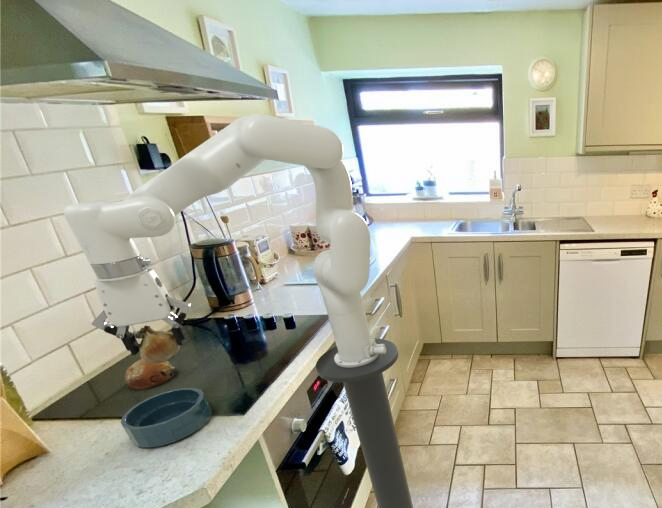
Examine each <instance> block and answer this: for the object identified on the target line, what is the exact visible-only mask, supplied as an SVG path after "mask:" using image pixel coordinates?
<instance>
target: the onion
mask: <svg viewBox="0 0 662 508" xmlns="http://www.w3.org/2000/svg"><path fill="white" fill-rule="evenodd" d="M132 333H133V334H134V336H135V338H136V340H138V339H139V340H141V341H140V343H138V348H139V352H138V354H139V357H140V359H143V360H144V361H146V362H149V363H153V364H155V363H163V362H166V361H168V362H170V361H172V360H173V359H174V358H175V357H176V356H177V354H178V353H179V351H180V348H181V345H178V343H177V341H176V339H175V337H174V335H173V333H172V331H165V330H155V329H153V328H151V326H150V325H144V326H143V327H141V328H140V329H139V330H137V331H136V330H133V331H132Z"/></svg>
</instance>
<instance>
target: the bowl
mask: <svg viewBox="0 0 662 508" xmlns="http://www.w3.org/2000/svg"><path fill="white" fill-rule="evenodd" d="M212 413H213V410H212V408H211V405H210V403H209V401H208V399H207V397H206V395H205V393H204V391H202V389H199V388H196V387H181V388H175V389H171V390H167V391H163V392H161V393H158V394H156V395H152V396H150V397H148V398H146V399H144V400H142V401H140V402H138V403H137V404H135V405H133V406H132V407H131V408H129V410H127V411H126V412H125V413H124V414H123V415H122V417H121V420H120V424H121V426H122V428H123V429H124V431H125V433H126V434H127V436H128V438H129V439H130V441H131V443H132V444H133V445H134V446H136V447H139V448H154V447H155V448H156V447H162V446H165V445H169V444H171V443H175V442H178V441H179V440H181V439H184V438H186V437H188V436H190V435H192V434H193V433H195V432H196V431H198V430H199V429H201V428H202V427H203V426H205V424H206V423H208V421H209V420H210V418H211V417H212Z"/></svg>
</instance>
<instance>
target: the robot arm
mask: <svg viewBox="0 0 662 508" xmlns="http://www.w3.org/2000/svg"><path fill="white" fill-rule="evenodd" d="M343 157H344V146H343V143H342V140H341V139H340V137H339V136H338V135H337V134H336V133H335V132H334V131H332V130H331V129H330V128H328V127H325V126H321V125H315V124H312V123H311V124H310V123H306V122H301V121H297V120H293V119H287V118H284V117H278V116H274V115H270V114H266V113H252V114H245V115H243V116H240V117H238V118H237V119H235V120H234V121H232V122H231V123H230V124H228V125H226V126H224V128H222V129H221V130H220V131H218V132H217V133H215V134H214V135H212V136H211V137H209V138H208V139H207V140H205V141H204V142H202V143H201V144H199V145H198V146H197V147H195V148H193V149H192V150H191V151H189V152H188V153H187V154H185V155H184V156H182V157H181V158H179V159H178V160H177V161H176V162H175V163H173V164H171V165H170V166H169V167H168V168H165V169H164V170H163V171H161V172H159V173H158V174H157V175H155V176H154V177H152V178H151V179H149V180H148V181H146V182H145V183H143V184H142V185H140V186H139V187H138V188H137V189H134V190H133V191H132V192H131V193H129V194H128V195H127V196H126V197H125V198H124V199H123V200H120V201H114V202H112V201H110V200H92V201H83V202H77V203H72V204H69V205H66V206H65V207H64V209H63V215H64V217H65V220H66V221H67V223H68V225H69V227H70V229H71V231H72V234H73V235H74V237H75V238H76V240H77V242H78V244H79V246H80V247H81V250H82V251H83V253H84V255H85V258H86V259H87V261H88V263H89V265H90V267H91V268H92V270H93V272H94V274H95V276H96V278H95V279H94V285H95V289H96V291H97V297H98V298H99V301H100V304H101V307H102V308H103V311H102V312H101V313H99V314H98V316H97V317H96V318H94V320H93V321H92V322H91V325H92V326H93V327H95V328H97V329H99V330H101V331H104V333H106V334H109V335H112V336H114V337H116V338H117V339H119V340H121V342H122V344H123V345H124V347H125V350H126V351H127V352H130V354H131V356H136V355H137V354H139V348H138V344H139V342H138V339H137V338H135V336H134V334H133V331H129V330H130V326H135V325H140V324H146V323H150V322H152V323H153V322H156V321H157V322H158V321H164V322H165V323H166V324H168V325H169V326H171V331H170V332H172V333H173V335H174V337H175V339H176V341H177V343H178V345H180V346H183V345H184V343H185V342H186V340H187V338H188V337H187V333H186V332H185V329H184V327H183V325H182V324H183V322H184V321H185V319H186V317H187V316H188V314H189V312H190V309H191V307H192V305H191V303H189V302H186V301H183V300H180V299H176V298H174V297H172V296H171V295H170V293H169V291H168V290H167V288H166V286H165V285H164V282H163V281H162V280H161V278H160V277H159V275H158V274H157V273H156V271H155V270H154V268H148V266H150V265H154V260H153V259H152V258H151V257H144V256H143V255H142V254H141V253H140V251H139V249H138V246H137V244H136V242H135V240H134V239H140V238H141V239H142V238H156V237H157V238H158V237H162V236H165V235H167V234H169V233H170V232H171V231H173V229H174V228H175V225H176V216H178V215H179V214H180V213H182V212H183V211H184V210H186V209H187V208H188V207H190V206H191V205H193V204H195V203H196V202H198V201H200V200H202V199H203V198H206V197H209V196H212V195H217V194H219V193H221V192H223V191H225V190H227V189H229V188H230V187H231V186H233V185H234V184H235V183H237V182H238V181H239V180H240V179H242V178H243V177H244V176H245V175H247V174H249V173H250V172H251V171H252V170H254V169H255V168H257V167H258V166H259V165H261V164H262V163H264V162H265V161H267V160H268V161H275V162H280V163H284V164H285V163H286V164H292V165H299V166H304V167H305V168H306V169H307V171H308V172H309V174H310V176H311V178H312V181H313V184H314V191H315V229H316V233H317V236H318V237H319V239H321V240H322V241H323V242H325V243H326V244H328V245H330V249H326V250H323V251H321V252H319V253H318V254H317V255H316V257H315V258H314V261H313V264H312V270H313V271H312V272H313V276H314V278H315V282H316V284H317V286H318V288H319V291H320V293H321V296H322V299H323V303H324V306H325V309H326V313H327V316H328V320H329V324H330V326H331V332H332V335H333V339H334V343H335V345H336V346H337V349H338V353H337V354H336V355H335V357H334V361H335V363H336V365H338V366H340V367H344V368H354V367H359V366H363V365H366V364H368V363H370V362H372V361H374V360H375V359H376V358H377V357H378V356H379V354H385V353H386V347H385V344H377V343H375V339H371V338H372V336H371V333H370V328H369V324H368V319H367V315H366V311H365V305H364V302H363V297H362V293H361V292H362V291H363V290H364V289H365V288H366V286H367V284H368V283H369V279H370V272H371V271H370V270H371V233H370V228H369V225H368V224H367V222H366V220H365V218H364V217H362V216H361V214H359V213H357V212H355V211H354V199H353V198H354V197H353V185H352V180H351V176H350V173H349V170H348V169H347V166H346V164H345V163H344V161H343ZM176 308H178V309H180V312H179V314H178V315H176V314H175V313H173V312H174V311H175V310H176ZM107 319H108V321H109V322H107V321H106V320H107ZM336 346H335V347H336Z"/></svg>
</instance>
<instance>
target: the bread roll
mask: <svg viewBox="0 0 662 508" xmlns="http://www.w3.org/2000/svg"><path fill="white" fill-rule="evenodd" d="M175 369H176V367H175V366H173V364H172V363H171V362H170V361H166V362H163V363H155V364H153V363H149V362H146V361H144V360H143V359H142V358H140V359H139V360H137V361H135V362H134V363H132V364H131V365H130V366H129V367H128V368H127V369H126V371H125V375H124V381H125V383H126V385H127V386H128V387H129V388H130V389H133V390H145V389H151V388H154V387H157V386H161V385H163V384H165V383H166V382H168V381H170V380H171V379H172V378H173V377H174V376H175V373H176V370H175Z"/></svg>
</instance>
